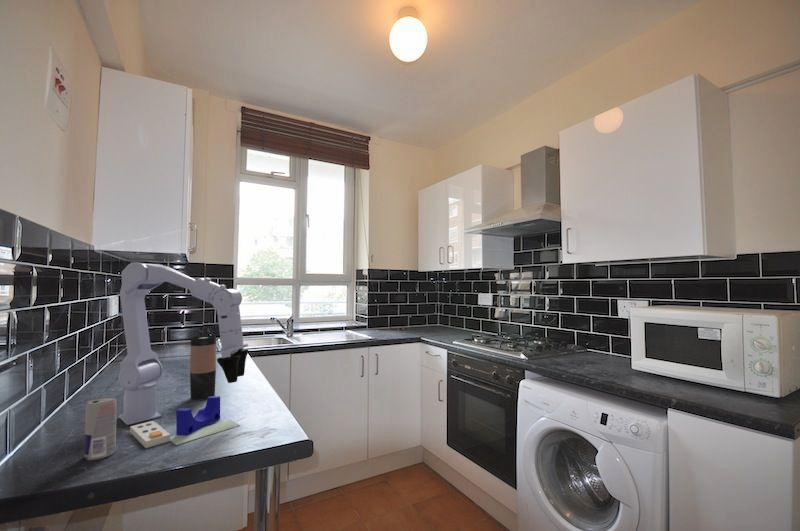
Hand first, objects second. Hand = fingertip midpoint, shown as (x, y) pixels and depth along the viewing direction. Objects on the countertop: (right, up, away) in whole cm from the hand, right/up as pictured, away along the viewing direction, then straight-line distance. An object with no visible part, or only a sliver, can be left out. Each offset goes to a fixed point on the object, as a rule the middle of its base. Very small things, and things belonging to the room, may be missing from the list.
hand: (236, 379), depth 101 cm
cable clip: (-8, -11, -6) cm, 14 cm away
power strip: (-16, -10, -12) cm, 23 cm away
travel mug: (-20, -12, +20) cm, 31 cm away
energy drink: (-20, -10, -22) cm, 31 cm away
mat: (-4, -10, -10) cm, 15 cm away
